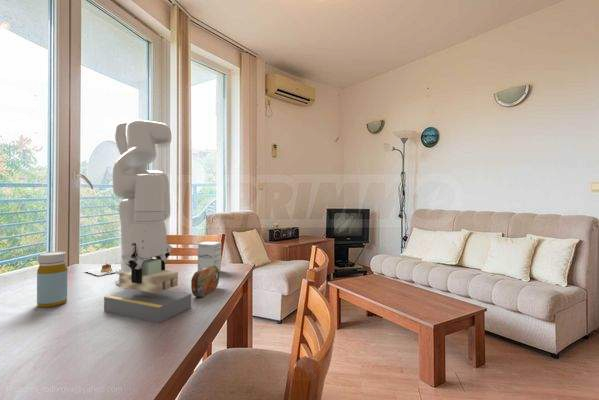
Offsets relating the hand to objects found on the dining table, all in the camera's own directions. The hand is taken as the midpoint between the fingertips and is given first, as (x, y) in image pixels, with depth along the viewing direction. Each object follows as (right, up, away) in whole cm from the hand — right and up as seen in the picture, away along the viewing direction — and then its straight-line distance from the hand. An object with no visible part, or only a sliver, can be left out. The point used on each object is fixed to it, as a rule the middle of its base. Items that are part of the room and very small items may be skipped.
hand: (148, 278), depth 88 cm
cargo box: (0, +2, 0) cm, 2 cm away
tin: (+11, -9, +16) cm, 22 cm away
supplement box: (+5, -8, +43) cm, 44 cm away
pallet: (0, -2, 0) cm, 2 cm away
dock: (0, -9, 0) cm, 9 cm away
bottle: (-30, -8, +3) cm, 32 cm away
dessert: (-38, -8, +42) cm, 57 cm away
